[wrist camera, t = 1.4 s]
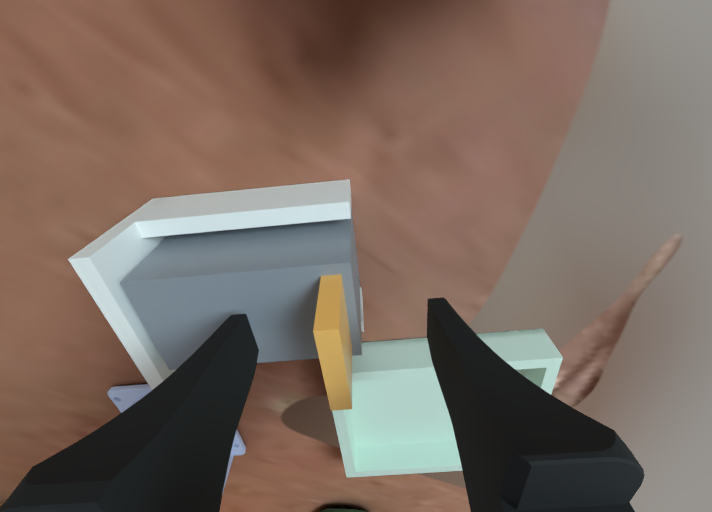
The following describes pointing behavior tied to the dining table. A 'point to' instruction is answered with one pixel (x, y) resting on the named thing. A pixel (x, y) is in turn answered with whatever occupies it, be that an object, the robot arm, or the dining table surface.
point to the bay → (184, 216)
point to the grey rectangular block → (258, 295)
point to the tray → (420, 402)
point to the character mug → (341, 510)
